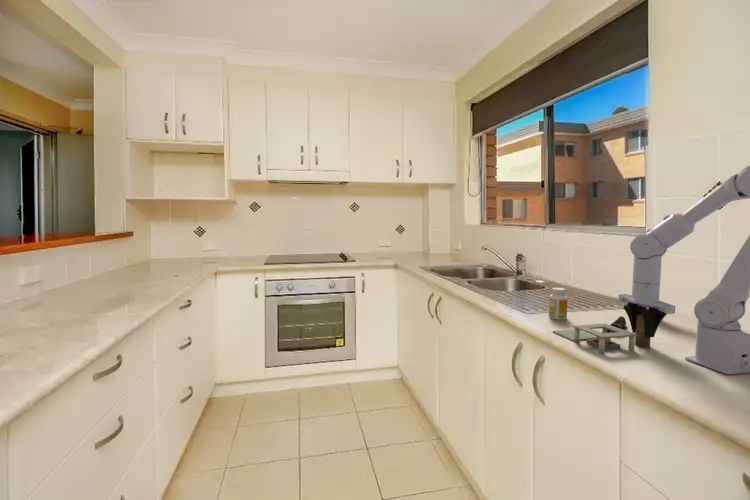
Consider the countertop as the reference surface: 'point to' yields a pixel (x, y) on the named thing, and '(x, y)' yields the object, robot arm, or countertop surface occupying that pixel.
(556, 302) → the supplement bottle
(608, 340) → the plunger
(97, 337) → the countertop surface
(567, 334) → the coaster
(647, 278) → the robot arm
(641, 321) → the dowel
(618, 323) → the electric trimmer
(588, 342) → the guard
